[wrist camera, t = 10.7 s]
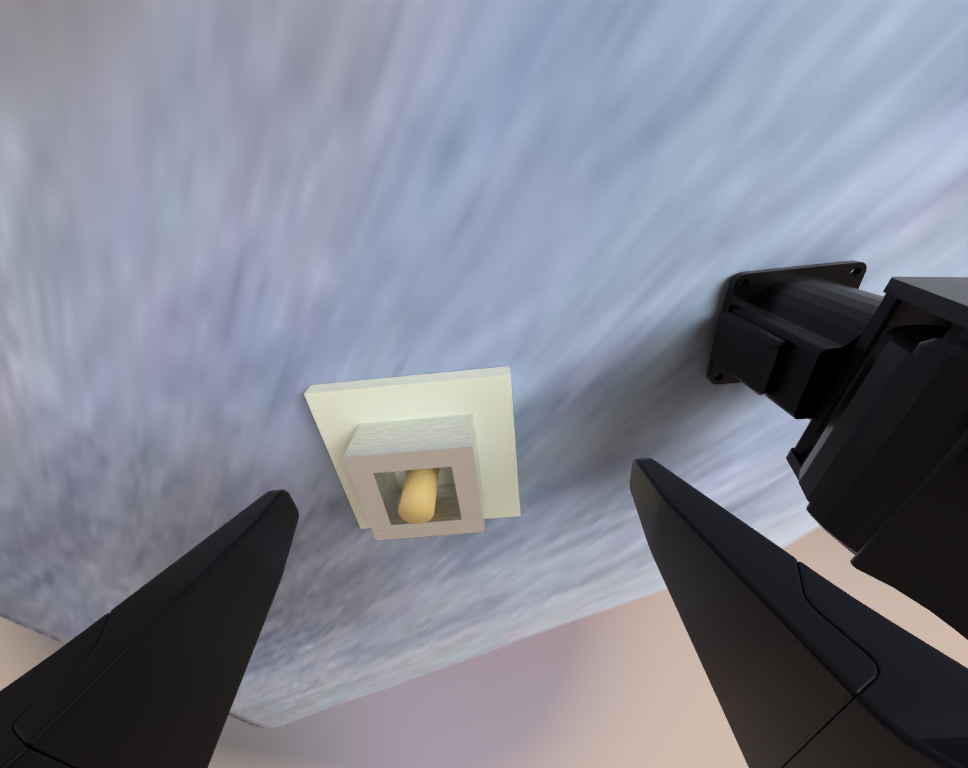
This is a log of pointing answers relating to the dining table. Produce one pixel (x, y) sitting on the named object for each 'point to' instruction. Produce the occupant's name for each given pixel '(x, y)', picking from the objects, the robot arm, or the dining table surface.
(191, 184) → the dining table surface
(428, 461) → the link
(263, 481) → the dining table surface
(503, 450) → the keeper
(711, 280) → the dining table surface
